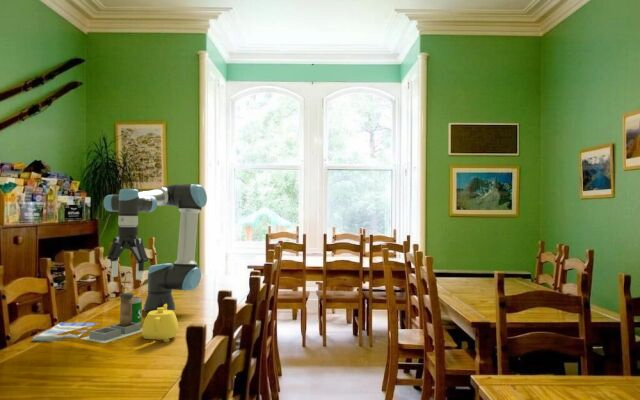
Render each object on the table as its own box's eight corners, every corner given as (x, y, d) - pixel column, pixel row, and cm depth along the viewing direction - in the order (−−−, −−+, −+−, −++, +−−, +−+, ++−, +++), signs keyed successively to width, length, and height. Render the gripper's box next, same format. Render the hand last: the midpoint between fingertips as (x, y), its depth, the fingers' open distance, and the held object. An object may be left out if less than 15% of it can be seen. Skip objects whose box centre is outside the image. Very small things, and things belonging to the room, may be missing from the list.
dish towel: (30, 343, 173) (30, 335, 173) (60, 327, 197) (60, 320, 197) (77, 342, 175) (77, 335, 175) (101, 327, 198) (101, 320, 198)
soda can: (134, 328, 195) (135, 300, 195) (119, 327, 197) (119, 299, 197) (144, 324, 202) (145, 297, 203) (129, 322, 204) (130, 296, 204)
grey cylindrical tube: (126, 328, 190) (127, 292, 190) (135, 330, 188) (136, 293, 188) (115, 331, 185) (116, 294, 185) (125, 333, 183) (126, 295, 183)
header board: (125, 328, 194) (125, 319, 194) (148, 332, 189) (148, 323, 189) (79, 341, 174) (80, 331, 174) (104, 346, 169) (104, 336, 169)
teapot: (181, 331, 191) (182, 302, 191) (173, 345, 171) (174, 312, 171) (148, 332, 189) (149, 302, 189) (136, 346, 169) (137, 313, 169)
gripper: (98, 225, 189) (97, 276, 188) (143, 227, 179) (142, 281, 178) (113, 225, 196) (112, 274, 195) (157, 226, 186) (156, 278, 185)
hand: (126, 277), depth 187 cm, fingers open, 13 cm apart
